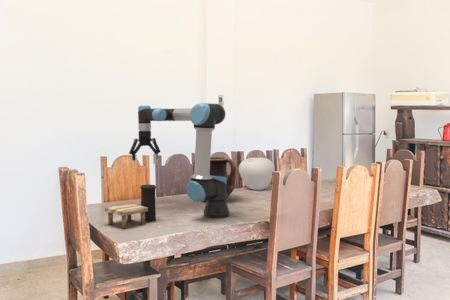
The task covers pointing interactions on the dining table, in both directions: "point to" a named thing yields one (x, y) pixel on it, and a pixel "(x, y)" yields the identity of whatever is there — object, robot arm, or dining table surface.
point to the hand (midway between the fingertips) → (145, 164)
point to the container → (148, 201)
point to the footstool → (126, 213)
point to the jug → (223, 171)
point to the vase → (256, 172)
